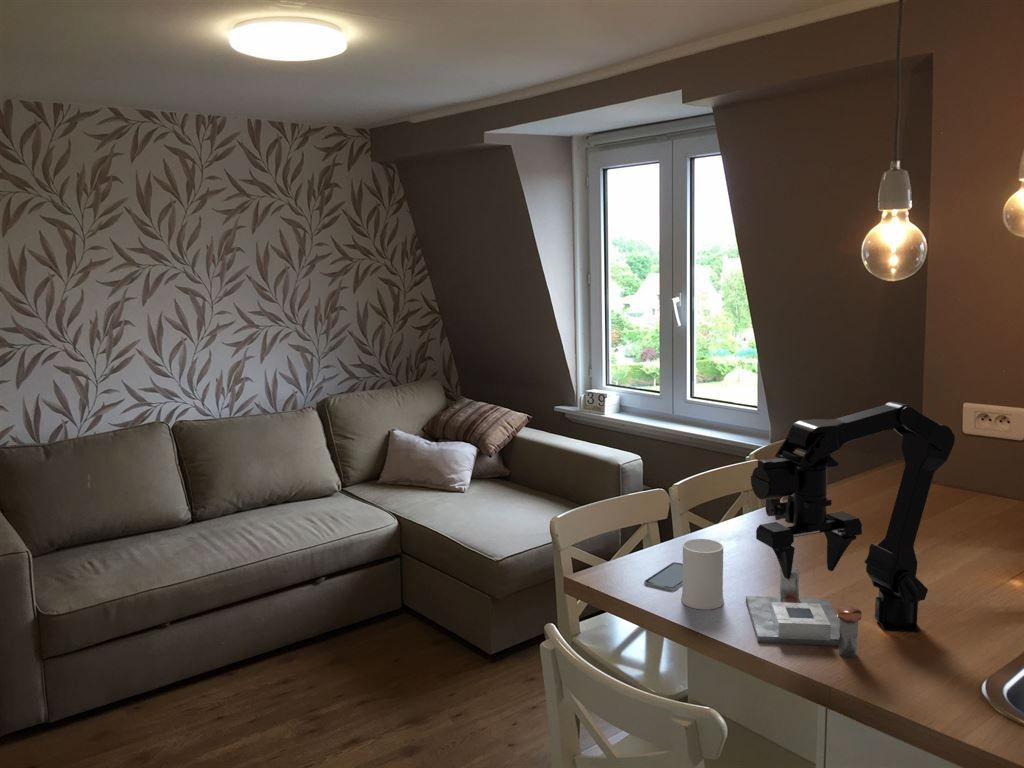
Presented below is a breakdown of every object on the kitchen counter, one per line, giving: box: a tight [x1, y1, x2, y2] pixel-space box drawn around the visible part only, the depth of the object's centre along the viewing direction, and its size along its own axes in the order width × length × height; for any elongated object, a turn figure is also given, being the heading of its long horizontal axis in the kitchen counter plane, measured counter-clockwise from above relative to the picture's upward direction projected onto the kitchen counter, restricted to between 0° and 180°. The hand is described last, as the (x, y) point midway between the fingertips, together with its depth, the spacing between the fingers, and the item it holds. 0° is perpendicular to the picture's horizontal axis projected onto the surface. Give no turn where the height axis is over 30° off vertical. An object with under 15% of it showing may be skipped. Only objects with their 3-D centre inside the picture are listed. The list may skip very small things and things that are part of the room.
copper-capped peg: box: [836, 606, 862, 659], centre depth 149 cm, size 4×4×8 cm
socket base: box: [745, 566, 840, 647], centre depth 162 cm, size 16×18×8 cm
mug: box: [680, 538, 725, 611], centre depth 174 cm, size 12×8×12 cm
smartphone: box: [643, 561, 683, 592], centre depth 186 cm, size 7×1×15 cm
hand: (808, 574), depth 154 cm, fingers open, 9 cm apart
